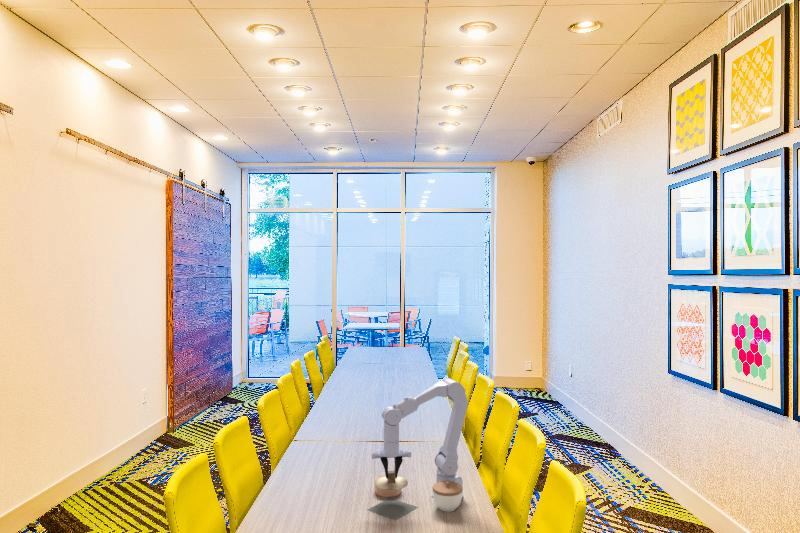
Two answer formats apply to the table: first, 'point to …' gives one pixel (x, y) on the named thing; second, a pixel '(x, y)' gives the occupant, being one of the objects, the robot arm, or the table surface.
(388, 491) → the bowl
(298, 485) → the table surface
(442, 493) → the lidded jar
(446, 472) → the robot arm
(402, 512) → the mat
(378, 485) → the lid
